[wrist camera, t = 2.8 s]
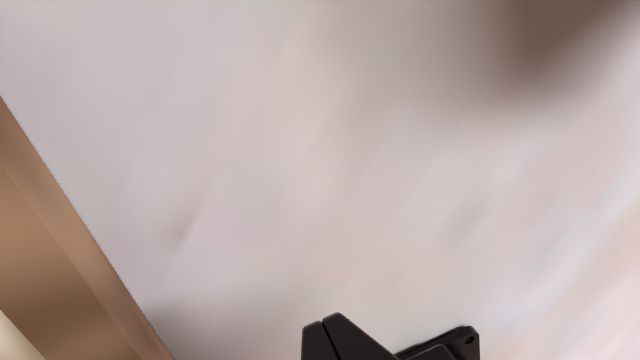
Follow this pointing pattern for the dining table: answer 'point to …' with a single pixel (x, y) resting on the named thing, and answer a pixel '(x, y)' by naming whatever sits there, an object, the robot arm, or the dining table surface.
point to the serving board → (60, 268)
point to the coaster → (15, 343)
